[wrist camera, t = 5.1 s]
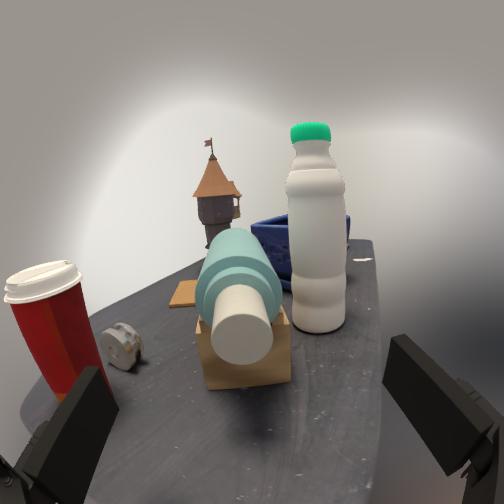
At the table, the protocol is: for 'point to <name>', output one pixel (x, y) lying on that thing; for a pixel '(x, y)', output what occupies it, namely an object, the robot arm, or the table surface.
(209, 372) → the birch block
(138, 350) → the metal grooved wheel
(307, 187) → the water bottle
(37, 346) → the paper cup
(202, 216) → the model tower
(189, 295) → the cork mat
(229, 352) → the plastic bottle
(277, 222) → the flower pot
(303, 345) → the table surface
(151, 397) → the table surface
